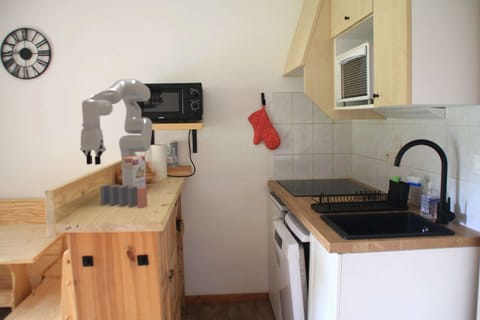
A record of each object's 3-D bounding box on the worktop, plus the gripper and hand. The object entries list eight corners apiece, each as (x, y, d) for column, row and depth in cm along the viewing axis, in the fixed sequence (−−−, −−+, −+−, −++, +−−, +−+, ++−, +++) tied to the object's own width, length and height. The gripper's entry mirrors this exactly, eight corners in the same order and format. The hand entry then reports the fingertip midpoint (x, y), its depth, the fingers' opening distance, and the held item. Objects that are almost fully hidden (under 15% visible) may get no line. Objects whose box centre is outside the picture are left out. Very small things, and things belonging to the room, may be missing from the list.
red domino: (137, 207, 167) (137, 188, 166) (143, 205, 172) (143, 186, 171) (141, 207, 167) (140, 188, 166) (147, 205, 172) (146, 186, 171)
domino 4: (128, 207, 169) (127, 187, 168) (134, 204, 174) (133, 186, 173) (131, 207, 168) (131, 188, 167) (137, 204, 173) (137, 186, 172)
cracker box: (134, 198, 188) (133, 158, 186) (123, 197, 189) (122, 157, 187) (146, 193, 202) (145, 155, 200) (136, 192, 203) (135, 155, 201)
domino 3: (119, 206, 170) (118, 187, 169) (125, 204, 175) (124, 185, 174) (122, 206, 170) (121, 187, 169) (128, 204, 175) (128, 185, 174)
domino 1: (101, 205, 173) (100, 186, 172) (107, 202, 178) (107, 184, 177) (104, 205, 173) (103, 186, 172) (111, 203, 177) (110, 184, 177)
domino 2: (110, 205, 172) (109, 186, 171) (116, 203, 177) (115, 185, 176) (113, 205, 171) (112, 187, 170) (119, 203, 176) (119, 185, 175)
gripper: (71, 126, 172) (73, 164, 174) (101, 126, 167) (103, 165, 169) (82, 126, 179) (84, 163, 181) (111, 125, 174) (113, 163, 176)
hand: (93, 163), depth 175 cm, fingers open, 4 cm apart
